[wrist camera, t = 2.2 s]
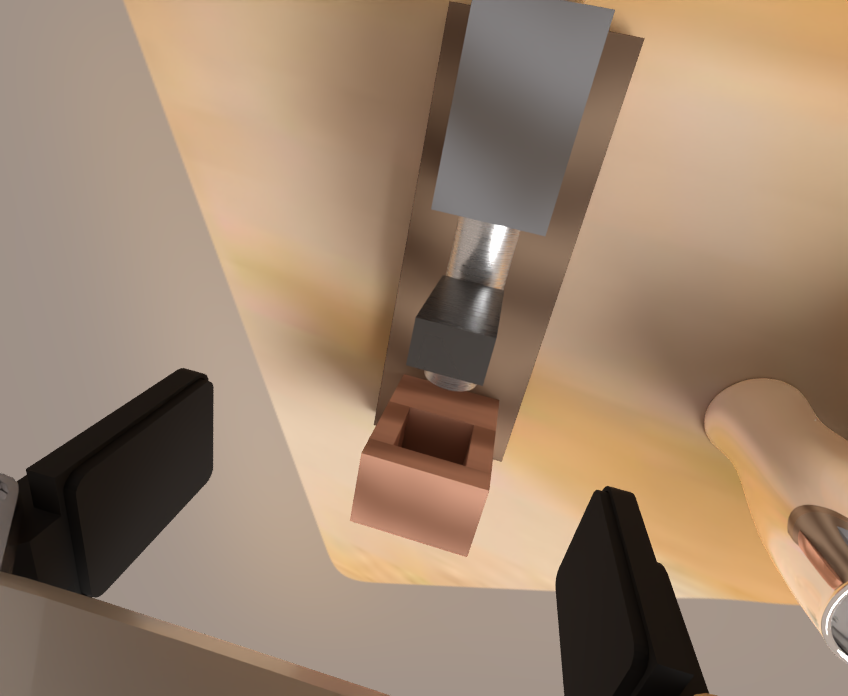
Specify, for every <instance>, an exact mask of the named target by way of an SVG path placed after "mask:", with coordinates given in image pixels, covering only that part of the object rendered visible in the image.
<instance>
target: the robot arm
mask: <svg viewBox="0 0 848 696" xmlns="http://www.w3.org/2000/svg"><path fill="white" fill-rule="evenodd" d="M212 470H213V384H212V383H211V382H209V381H208V377H207V375H205V374H203V373H199V372H196V371H192V370H188V369H185V368H181V369H179V370H177V371H175V372H174V373H172V374H171V375H169V376H167V377H166V378H164V379H163V380H161V381H160V382H158V383H157V384H155V385H154V386H152V387H151V388H149V389H148V390H146V391H145V392H143V393H142V394H140V395H139V396H137V397H135V398H134V399H132V400H131V401H130V402H128V403H126V404H125V405H123V406H122V407H120V408H119V409H117V410H116V411H114V412H113V413H111V414H109V415H108V416H106V417H105V418H103V419H102V420H100V421H99V422H97V423H96V424H94V425H93V426H91V427H90V428H88V429H87V430H85V431H84V432H82V433H80V434H79V435H77V436H76V437H74V438H73V439H71V440H70V441H68V442H67V443H65V444H64V445H62V446H61V447H59V448H58V449H56V450H55V451H53V452H51V453H50V454H49V455H47V456H46V457H44V458H42V459H41V460H39V461H38V462H36V463H35V464H33V465H32V466H30V467H28V468H27V469H26V472H27V475H26V476H24V477H23V478H21V479H20V480H18V481H17V482H16V481H15V479H14V478H12V477H10V476H7V475H5V474H1V473H0V696H389V695H387V694H384V693H381V692H378V691H375V690H372V689H368V688H366V687H363V686H360V685H357V684H354V683H350V682H348V681H345V680H342V679H339V678H336V677H333V676H330V675H327V674H324V673H320V672H318V671H315V670H312V669H309V668H306V667H302V666H300V665H296V664H294V663H290V662H288V661H284V660H281V659H278V658H275V657H272V656H269V655H266V654H263V653H260V652H257V651H254V650H251V649H248V648H245V647H242V646H239V645H236V644H233V643H230V642H226V641H224V640H221V639H218V638H215V637H212V636H209V635H206V634H202V633H199V632H196V631H193V630H190V629H187V628H184V627H181V626H177V625H175V624H171V623H168V622H165V621H162V620H159V619H156V618H153V617H150V616H147V615H144V614H141V613H138V612H134V611H131V610H128V609H125V608H122V607H119V606H116V605H112V604H110V603H107V602H104V601H101V600H97V599H94V598H92V597H99V596H101V595H102V594H103V593H104V592H105V591H106V590H107V589H108V588H109V587H110V586H111V585H112V584H113V583H114V582H115V581H116V580H117V579H118V578H119V576H120V575H121V574H122V573H123V572H124V571H125V570H126V569H127V568H128V567H129V566H130V564H132V562H133V561H134V560H135V559H136V558H137V557H138V556H139V555H140V554H141V553H142V552H143V551H144V550H145V548H146V547H147V546H148V545H149V544H150V543H151V542H152V541H153V540H154V539H155V538H156V537H157V535H159V533H160V532H161V531H162V530H163V529H164V528H165V527H166V526H167V525H168V524H169V523H170V522H171V520H172V519H173V518H174V517H175V516H176V515H177V514H178V513H179V512H180V511H181V510H182V509H183V507H185V505H186V504H187V503H188V502H189V501H190V500H191V499H192V498H193V497H194V496H195V495H196V493H198V491H199V490H200V489H201V488H202V487H203V486H204V485H205V484H206V483H207V481H208V480H209V478H210V476H211V474H212ZM556 599H557V611H558V623H559V636H560V648H561V660H562V672H563V684H564V694H565V695H564V696H716V695H712V694H709V692H708V689H707V686H706V683H705V680H704V677H703V675H702V672H701V669H700V666H699V663H698V660H697V657H696V654H695V652H694V649H693V646H692V643H691V640H690V637H689V634H688V631H687V628H686V625H685V623H684V620H683V617H682V614H681V611H680V608H679V605H678V603H677V600H676V597H675V594H674V591H673V588H672V585H671V582H670V579H669V576H668V574H667V572H666V570H665V568H664V566H663V565H662V564H660V563H658V562H657V561H656V558H655V555H654V552H653V549H652V546H651V543H650V540H649V537H648V534H647V531H646V528H645V525H644V522H643V519H642V516H641V513H640V510H639V507H638V504H637V501H636V498H635V496H634V494H633V493H631V492H627V491H624V490H620V489H617V488H613V487H609V486H606V487H605V488H604V489H603V491H600V490H596V491H595V492H594V493H593V495H592V497H591V499H590V502H589V504H588V506H587V508H586V510H585V513H584V515H583V517H582V519H581V521H580V524H579V526H578V528H577V530H576V532H575V534H574V537H573V539H572V541H571V543H570V545H569V548H568V550H567V552H566V554H565V556H564V559H563V561H562V563H561V565H560V567H559V570H558V572H557V576H556Z"/></svg>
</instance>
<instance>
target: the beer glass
mask: <svg viewBox="0 0 848 696" xmlns="http://www.w3.org/2000/svg"><path fill="white" fill-rule="evenodd" d="M704 427H705V431H706V434H707V436H708V438H709V440H710V441H711V442H712V443H713V445H714V446H715V447H716V448H718V449H719V450H720V451H721V452H722V453H723V454H724V455H725V456H726V457H727V458H728V459H729V460H730V461H731V463H732V464H733V465H734V467H735V469H736V471H737V473H738V476H739V479H740V482H741V485H742V488H743V491H744V495H745V498H746V501H747V504H748V507H749V510H750V513H751V516H752V519H753V522H754V524H755V527H756V529H757V532H758V534H759V537H760V539H761V541H762V543H763V545H764V547H765V549H766V551H767V553H768V555H769V556H770V558H771V560H772V562H773V564H774V566H775V567H776V569H777V570H778V572H779V574H780V575H781V577H782V578H783V580H784V582H785V583H786V585H787V586H788V588H789V590H790V591H791V592H792V594H793V595H794V597H795V598H796V600H797V601H798V603H799V604H800V605H801V607H802V608H803V610H804V611H805V612H806V614H807V615H808V616H809V618H810V619H811V621H812V622H813V624H814V625H815V626H816V628H817V629H818V631H819V632H820V634H821V635H822V636H823V638H824V640H825V642H826V644H827V646H828V647H829V648H830V650H831V651H832V652H833V653H834V654H835V655H836V656H837V657H838V658H840V659H841V660H842V661H844V662H845V663H847V664H848V440H846V439H845V438H843V437H841V436H840V435H838V434H837V433H835V432H833V431H832V430H830V429H829V428H828V427H826V426H825V425H824V424H823V423H822V422H821V421H820V420H819V419H818V418H817V416H816V415H815V413H814V411H813V409H812V408H811V406H810V404H809V403H808V401H807V400H806V398H805V397H804V396H803V395H802V393H801V392H800V391H799V390H797V389H796V388H795V387H793V386H791V385H790V384H787V383H785V382H783V381H780V380H775V379H768V378H757V379H749V380H745V381H741V382H738V383H736V384H733V385H731V386H729V387H728V388H726V389H724V390H723V391H722V392H720V393H719V394H718V395H717V396H716V397H715V398H714V399H713V400H712V401H711V403H710V404H709V406H708V408H707V410H706V413H705V417H704Z"/></svg>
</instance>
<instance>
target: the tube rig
mask: <svg viewBox="0 0 848 696" xmlns="http://www.w3.org/2000/svg"><path fill="white" fill-rule="evenodd" d="M614 11H615V10H613V9H608V8H602V7H597V6H592V5H586V4H581V3H575V2H570V1H564V0H472V3H471V5H466V4H461V3H455V2H449V7H448V13H447V18H446V24H445V30H444V35H443V41H442V46H441V52H440V58H439V63H438V69H437V74H436V80H435V86H434V91H433V97H432V102H431V108H430V113H429V119H428V125H427V130H426V136H425V141H424V147H423V153H422V158H421V164H420V169H419V175H418V181H417V186H416V192H415V197H414V203H413V209H412V214H411V220H410V225H409V231H408V237H407V242H406V248H405V253H404V259H403V265H402V270H401V276H400V281H399V287H398V293H397V298H396V304H395V309H394V315H393V321H392V326H391V332H390V337H389V343H388V348H387V354H386V360H385V365H384V371H383V376H382V382H381V388H380V393H379V399H378V404H377V410H376V416H375V421H374V425H376V427H375V429H374V431H373V433H372V434H371V436H370V438H369V440H368V442H367V444H366V446H365V447H364V449H363V451H362V453H361V459H360V465H359V471H358V477H357V483H356V488H355V494H354V500H353V506H352V512H351V518H350V521H353V522H356V523H359V524H362V525H365V526H369V527H372V528H375V529H378V530H382V531H385V532H388V533H391V534H394V535H398V536H401V537H404V538H407V539H410V540H414V541H417V542H420V543H423V544H426V545H430V546H433V547H436V548H439V549H442V550H446V551H449V552H452V553H455V554H459V555H462V556H465V557H467V556H468V553H469V550H470V547H471V544H472V541H473V538H474V535H475V532H476V529H477V526H478V523H479V520H480V517H481V514H482V511H483V508H484V505H485V502H486V499H487V496H488V493H489V488H490V479H491V471H492V462H493V459H494V460H497V461H501V462H502V459H503V456H504V453H505V450H506V447H507V444H508V441H509V438H510V435H511V432H512V429H513V426H514V423H515V420H516V418H517V415H518V412H519V409H520V406H521V403H522V400H523V397H524V394H525V391H526V388H527V385H528V382H529V379H530V376H531V373H532V370H533V367H534V364H535V361H536V358H537V355H538V352H539V349H540V346H541V343H542V341H543V338H544V335H545V332H546V329H547V326H548V323H549V320H550V317H551V314H552V311H553V308H554V305H555V302H556V299H557V296H558V293H559V290H560V287H561V284H562V281H563V278H564V275H565V272H566V269H567V266H568V263H569V261H570V258H571V255H572V252H573V249H574V246H575V243H576V240H577V237H578V234H579V231H580V228H581V225H582V222H583V219H584V216H585V213H586V210H587V207H588V204H589V201H590V198H591V195H592V192H593V189H594V186H595V184H596V181H597V178H598V175H599V172H600V169H601V166H602V163H603V160H604V157H605V154H606V151H607V148H608V145H609V142H610V139H611V136H612V133H613V130H614V127H615V124H616V121H617V118H618V115H619V112H620V109H621V106H622V104H623V101H624V98H625V95H626V92H627V89H628V86H629V83H630V80H631V77H632V74H633V71H634V68H635V65H636V62H637V59H638V56H639V53H640V50H641V47H642V44H643V41H644V38H640V37H635V36H630V35H624V34H619V33H614V32H609V28H610V24H611V21H612V18H613V15H614ZM459 216H461V217H465V218H470V219H474V220H478V221H482V222H487V223H491V224H495V225H499V226H504V227H508V228H512V229H516V230H520V233H519V237H518V240H517V244H516V247H515V251H514V254H513V258H512V261H511V265H510V268H509V272H508V276H507V279H506V283H505V286H504V296H503V302H502V308H501V314H500V320H499V327H498V333H497V339H496V342H495V346H494V349H493V353H492V356H491V359H490V363H489V366H488V370H487V373H486V377H485V380H484V384H483V386H480V385H476V387H475V388H473V389H472V390H469V391H462V392H459V391H450V390H446V389H443V388H440V387H438V386H436V385H434V384H433V383H431V382H430V381H429V380H428V379H427V378H426V376H425V374H424V371H425V370H422V369H418V368H414V367H411V366H407V365H406V362H407V357H408V352H409V347H410V343H411V338H412V333H413V328H414V323H415V318H416V316H417V314H418V313H419V311H420V310H421V308H422V307H423V305H424V303H425V302H426V300H427V299H428V297H429V296H430V294H431V292H432V291H433V289H434V288H435V286H436V285H437V283H438V282H439V280H440V278H441V277H442V275H445V276H446V272H447V267H448V263H449V258H450V254H451V249H452V245H453V240H454V236H455V231H456V227H457V222H458V218H459Z"/></svg>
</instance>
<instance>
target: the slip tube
mask: <svg viewBox="0 0 848 696" xmlns="http://www.w3.org/2000/svg"><path fill="white" fill-rule="evenodd" d="M564 1H570V2H575V3H581V4H584V3H585V0H564ZM519 233H520V230H516V229H512V228H508V227H504V226H499V225H495V224H491V223H487V222H482V221H478V220H474V219H470V218H465V217H461V216H459V218H458V222H457V227H456V231H455V236H454V240H453V245H452V249H451V254H450V258H449V263H448V267H447V272H446V276H445V275H442V277H441V278H440V280H439V282H438V283H437V285H436V286H435V288H434V289H433V291H432V292H431V294H430V296H429V297H428V299H427V300H426V302H425V303H424V305H423V307H422V308H421V310H420V311H419V313H418V314H417V316H416V318H415V323H414V328H413V333H412V338H411V343H410V347H409V352H408V357H407V362H406V365H407V366H411V367H414V368H418V369H422V370H425V371H424V374H425V376H426V378H427V379H428V380H429V381H430V382H431V383H433V384H434V385H436V386H438V387H440V388H443V389H446V390H450V391H459V392H462V391H469V390H472V389H473V388H475V387H476V385H480V386H483V384H484V380H485V377H486V373H487V370H488V366H489V363H490V359H491V356H492V353H493V349H494V346H495V342H496V339H497V333H498V327H499V320H500V314H501V308H502V302H503V296H504V286H505V283H506V279H507V276H508V272H509V268H510V265H511V261H512V258H513V254H514V251H515V247H516V244H517V240H518V237H519Z"/></svg>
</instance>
